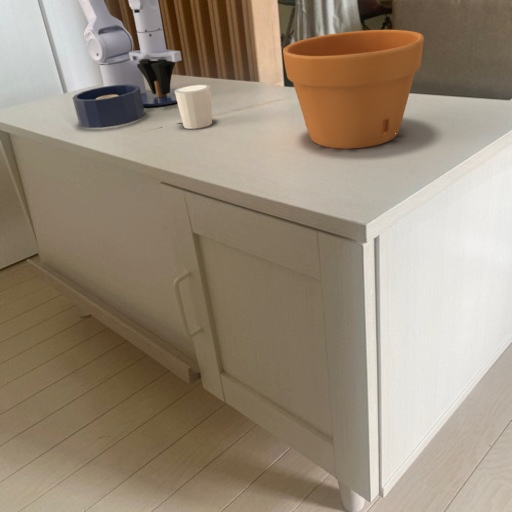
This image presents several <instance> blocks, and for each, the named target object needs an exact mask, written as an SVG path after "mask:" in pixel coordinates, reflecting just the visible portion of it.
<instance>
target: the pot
mask: <svg viewBox="0 0 512 512" xmlns="http://www.w3.org/2000/svg"><path fill="white" fill-rule="evenodd" d="M105 95H119V96H115V97H110V98H104V99H96V98H98V97H101V96H105ZM72 102H73V105H74V109H75V113H76V116H77V120H78V124H79V126H81V127H82V128H89V129H101V128H110V127H116V126H121V125H126V124H129V123H132V122H134V121H138V120H139V119H141V118H142V117H144V116H145V106H143V101H142V96H141V91H140V87H138V86H136V85H113V86H105V87H104V86H101V87H100V86H99V87H95V88H91V89H90V88H89V89H88V90H87V89H86V90H84V91H81V92H79V93H77V94H74V95H73V97H72Z"/></svg>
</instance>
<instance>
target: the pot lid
mask: <svg viewBox="0 0 512 512" xmlns="http://www.w3.org/2000/svg"><path fill="white" fill-rule="evenodd" d="M154 85H155V90H156V94H153V93H152V91H146V93H142V94H141V96H142V101H143V106H144V107H157V106H166V105H170V104H175V103H177V99H176V95H175V90H176V89H178V88H179V87H175V88H173V87H172V88H170V93H168V94H165V95H162V94H161V91H160V87H159V83H158V80H155V81H154Z"/></svg>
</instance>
